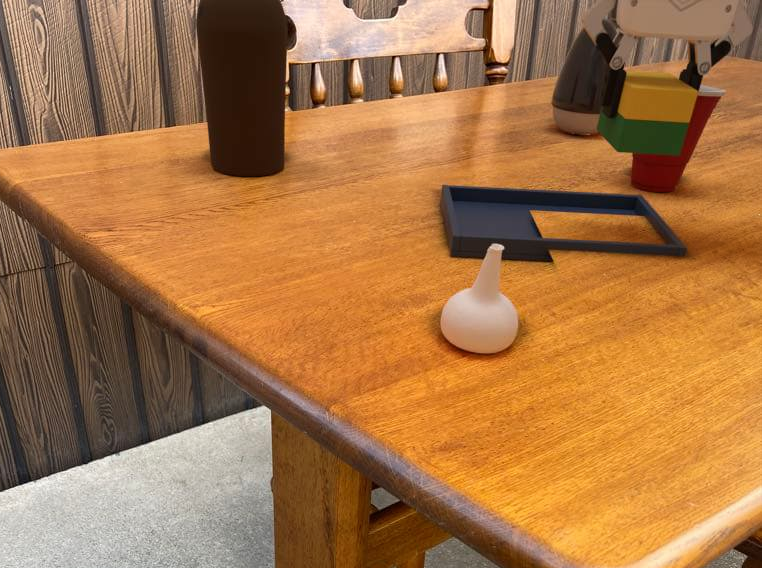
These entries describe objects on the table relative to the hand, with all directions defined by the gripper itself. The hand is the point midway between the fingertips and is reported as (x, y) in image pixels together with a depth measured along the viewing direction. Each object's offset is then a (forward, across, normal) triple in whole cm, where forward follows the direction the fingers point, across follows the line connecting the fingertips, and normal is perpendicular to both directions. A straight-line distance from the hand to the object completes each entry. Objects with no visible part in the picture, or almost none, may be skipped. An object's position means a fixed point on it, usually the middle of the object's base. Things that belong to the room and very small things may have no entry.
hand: (643, 115), depth 76 cm
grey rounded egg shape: (+13, +8, +53) cm, 55 cm away
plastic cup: (+13, +11, +24) cm, 30 cm away
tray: (+13, -6, +4) cm, 14 cm away
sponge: (+2, 0, 0) cm, 2 cm away
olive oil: (+13, -42, +24) cm, 50 cm away
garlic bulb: (+13, -17, -24) cm, 32 cm away
